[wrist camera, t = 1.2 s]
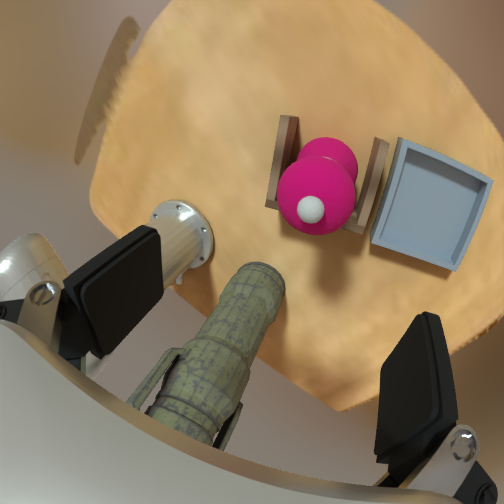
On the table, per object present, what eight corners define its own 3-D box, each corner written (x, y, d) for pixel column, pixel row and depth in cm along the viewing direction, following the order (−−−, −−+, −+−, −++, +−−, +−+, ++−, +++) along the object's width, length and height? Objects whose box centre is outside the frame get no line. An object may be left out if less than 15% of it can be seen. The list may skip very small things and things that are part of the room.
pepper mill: (298, 182, 36) (248, 251, 19) (305, 130, 32) (258, 146, 16) (350, 194, 34) (350, 276, 18) (360, 141, 30) (379, 171, 14)
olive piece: (251, 244, 43) (100, 450, 14) (302, 295, 44) (218, 514, 15) (219, 272, 48) (87, 444, 19) (266, 317, 49) (176, 499, 20)
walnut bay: (360, 216, 35) (362, 234, 30) (277, 193, 37) (264, 206, 32) (382, 139, 29) (389, 143, 24) (290, 115, 32) (280, 115, 27)
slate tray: (450, 261, 33) (455, 271, 30) (369, 233, 36) (371, 243, 33) (484, 175, 25) (493, 180, 23) (398, 136, 28) (403, 138, 26)
